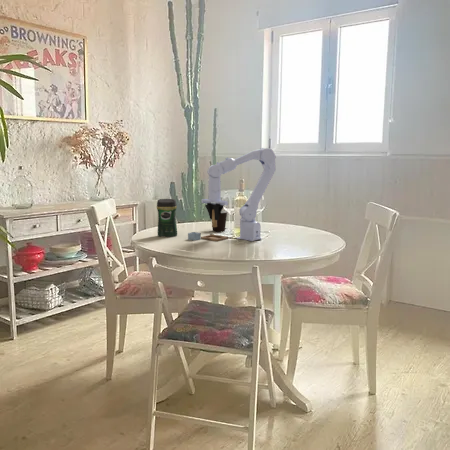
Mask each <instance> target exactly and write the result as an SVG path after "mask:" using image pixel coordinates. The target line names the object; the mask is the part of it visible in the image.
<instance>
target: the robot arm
mask: <svg viewBox="0 0 450 450" xmlns="http://www.w3.org/2000/svg"><path fill="white" fill-rule="evenodd" d="M275 154H276V153H275V152H274V150H273V149H272V148H269V147H266V148H265V147H261V148H259V149H254V150H251V151H249V152H247V153H245V154H243V155H241V156H238V157H235V158H232V157H226V158H225V159H224V160H221V161H217V162H215V164H212V165H210V166H209V167H208V169H207V174H208V185H207V186H208V198H201V204H205V209H206V210H207V212H208V216H209V220H211V221H212V210H214V213H215V220H219V217H220V213H221V211H223V209H224V208H225V206H228V205H229V201H228V200H223V199H222V200H221V195H222V194H221V192H222V190H221V185H222V183H221V182H222V181H221V176H222V175H225V174H227V173H229V172H232V171H235V170H236V169H237V167H238V166H239V165H242V164H244V163H247V162H249V161H252V160H256V161H257V160H258V161H259V162H260V163H261V166H262V169H263V170H262V172H261V174H260V177H259V178H258V180H257V183H256V184H255V186H254V188H253V190H252V192H251V194H250V196H249V198H248V200H246V201H245V203H244V205H242V206H241V207H240V209H239V215H240V219H239V236H238V237H237V240H238V239H239V240H245V241H248V242H253V241H258V240H262V237H261V232H262V231H261V224H260V222H258V221H256V217H257V211H258V209H259V203H260V202H261V199H262V198H263V196H264V193H265V192H266V190H267V188H268V186H269V184H270V182H271V180H272V178H273V176H274V174H275V172H276V158H277V157H276V155H275Z"/></svg>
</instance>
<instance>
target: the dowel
mask: <svg viewBox="0 0 450 450" xmlns="http://www.w3.org/2000/svg"><path fill="white" fill-rule="evenodd" d="M212 227H217V220H215V213H214V210H212V220H211V228H212Z"/></svg>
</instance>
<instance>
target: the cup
mask: <svg viewBox="0 0 450 450" xmlns="http://www.w3.org/2000/svg"><path fill="white" fill-rule="evenodd" d="M201 235H202V234H201V232H199V231H198V232H197V231H193V232H188V233H187V240H189V241H200V240H202V239H201V237H202V236H201Z"/></svg>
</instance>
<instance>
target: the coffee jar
mask: <svg viewBox="0 0 450 450" xmlns="http://www.w3.org/2000/svg"><path fill="white" fill-rule="evenodd" d="M177 206H178V205H177V200H176V198H175V199H174V198H159V199H158V200H157V202H156V210H157V213H158V214H157V215H158V217H157V237H159V238H174V237H175V238H176V237H177V236H178V226H177V220H176V219H177V217H176V211H177Z"/></svg>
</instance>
